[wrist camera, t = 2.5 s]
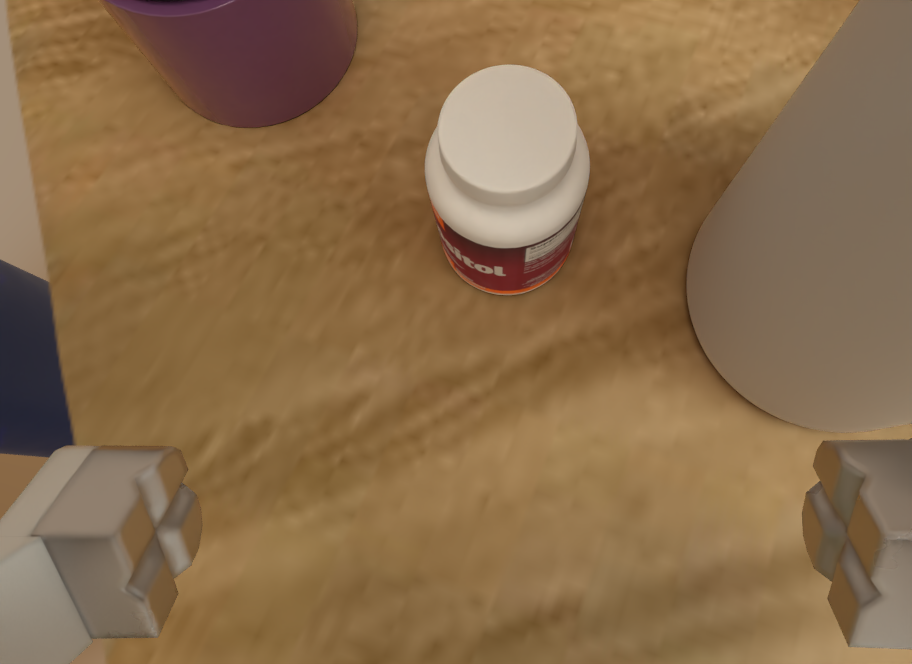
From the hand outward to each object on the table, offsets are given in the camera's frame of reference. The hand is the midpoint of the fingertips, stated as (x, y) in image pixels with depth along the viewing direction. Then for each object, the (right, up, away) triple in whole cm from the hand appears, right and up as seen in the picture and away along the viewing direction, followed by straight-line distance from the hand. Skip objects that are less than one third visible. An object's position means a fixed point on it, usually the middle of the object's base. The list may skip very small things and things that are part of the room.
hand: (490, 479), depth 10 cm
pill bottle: (+2, +6, +26) cm, 27 cm away
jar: (-11, +17, +29) cm, 35 cm away
